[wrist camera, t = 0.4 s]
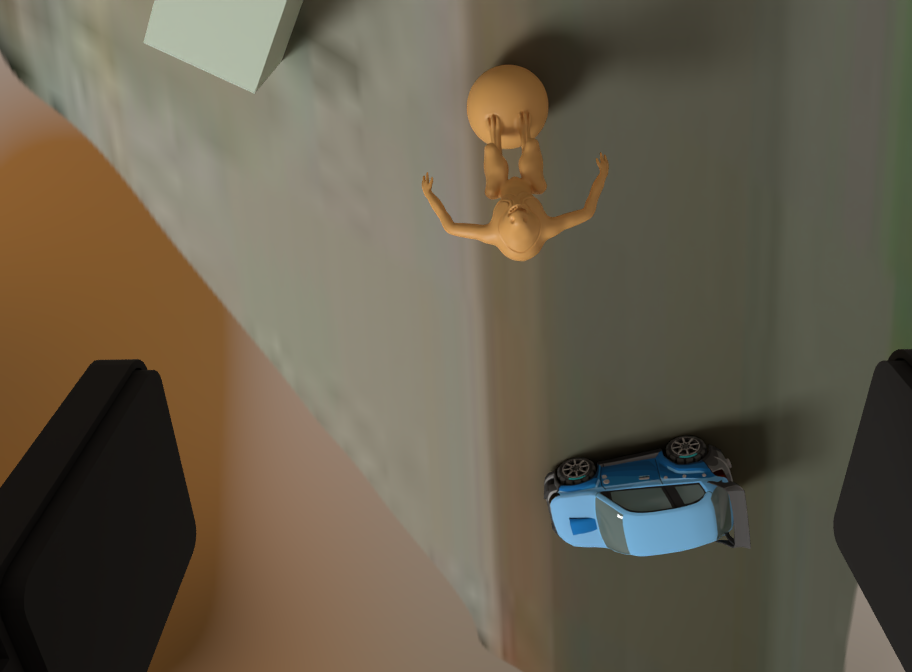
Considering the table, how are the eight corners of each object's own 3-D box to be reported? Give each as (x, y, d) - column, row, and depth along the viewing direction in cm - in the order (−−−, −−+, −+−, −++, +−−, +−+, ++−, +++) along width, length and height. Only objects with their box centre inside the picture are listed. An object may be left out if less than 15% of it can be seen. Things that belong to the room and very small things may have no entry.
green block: (214, -88, 38) (174, -74, 33) (316, -37, 39) (292, -16, 34) (185, 15, 41) (143, 42, 36) (281, 60, 42) (254, 93, 37)
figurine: (586, 45, 41) (622, 119, 31) (591, 162, 44) (626, 263, 34) (420, 66, 42) (401, 145, 32) (436, 179, 45) (424, 285, 35)
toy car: (537, 459, 55) (542, 521, 50) (721, 426, 53) (745, 486, 48) (554, 523, 58) (561, 586, 53) (729, 493, 56) (752, 556, 51)
